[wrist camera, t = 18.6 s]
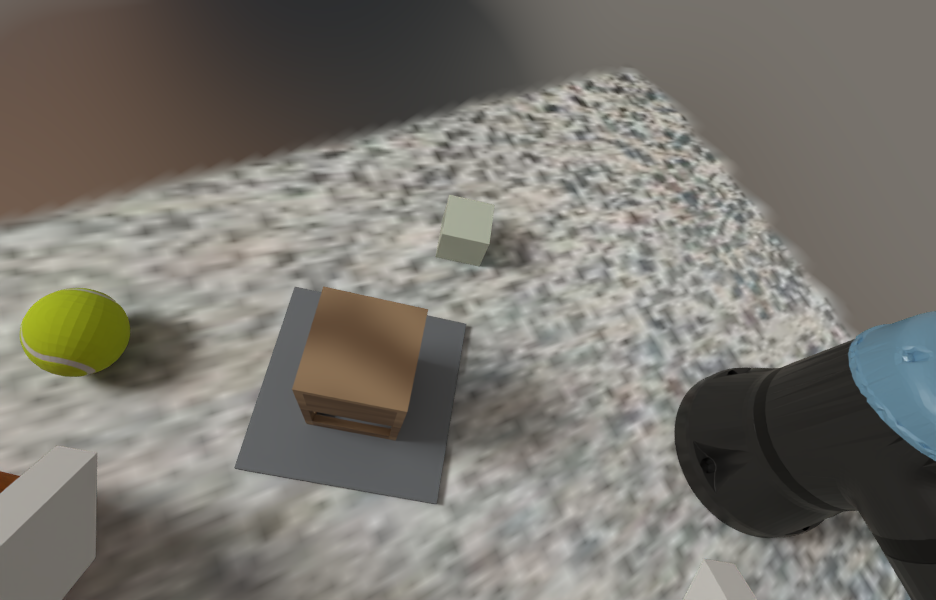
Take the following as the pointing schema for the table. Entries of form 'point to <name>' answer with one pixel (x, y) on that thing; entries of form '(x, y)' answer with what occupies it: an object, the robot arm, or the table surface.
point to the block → (465, 230)
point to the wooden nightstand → (359, 363)
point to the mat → (351, 454)
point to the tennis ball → (75, 332)
